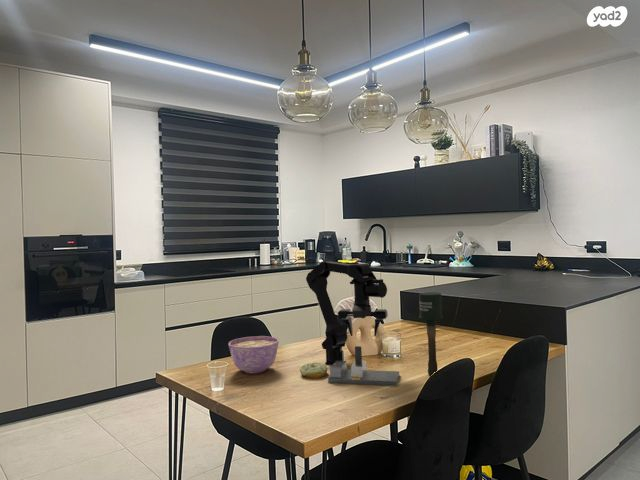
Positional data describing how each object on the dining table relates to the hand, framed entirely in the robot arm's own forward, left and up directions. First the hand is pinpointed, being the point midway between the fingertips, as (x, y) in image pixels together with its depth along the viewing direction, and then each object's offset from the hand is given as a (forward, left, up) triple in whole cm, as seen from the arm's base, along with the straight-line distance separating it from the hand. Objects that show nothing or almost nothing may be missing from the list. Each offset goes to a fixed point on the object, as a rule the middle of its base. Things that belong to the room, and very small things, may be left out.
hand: (363, 336), depth 184 cm
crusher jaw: (0, -12, -11) cm, 17 cm away
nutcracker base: (+2, -12, -13) cm, 18 cm away
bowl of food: (-43, -7, -13) cm, 46 cm away
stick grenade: (+26, -4, -13) cm, 29 cm away
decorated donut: (-18, -9, -14) cm, 24 cm away
